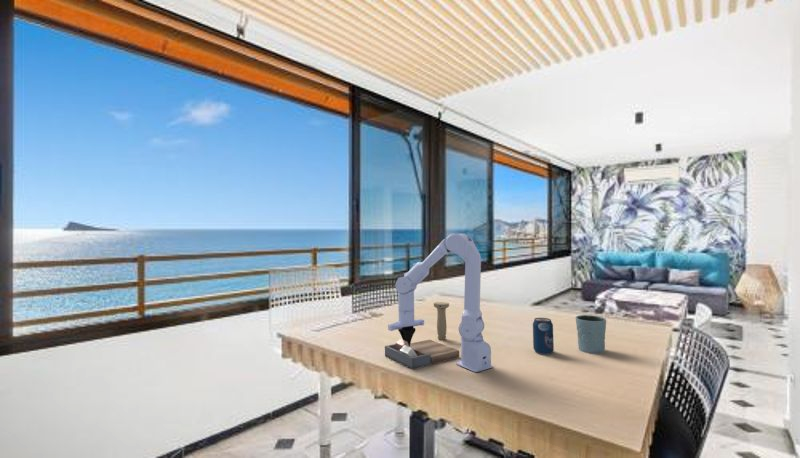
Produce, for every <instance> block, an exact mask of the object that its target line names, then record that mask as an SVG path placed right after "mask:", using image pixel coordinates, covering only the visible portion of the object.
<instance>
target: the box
mask: <svg viewBox="0 0 800 458" xmlns="http://www.w3.org/2000/svg"><path fill="white" fill-rule="evenodd" d="M384 356H385V357H387V358H389V359H390V360H393V361H395V363H399V364H400V365H402V366H404V367H406V368H407V369H410V370H415V369H421V368H423V367H427V366H431V365H432V366H433V364H432V363H431V356H430V354H425V355H421V356H417V357H410V356H408V355H406V354H404V353H402V352H399V351H398V349H397V346H396V344H395V343H393V344H388V345H385V346H384Z"/></svg>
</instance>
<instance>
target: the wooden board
mask: <svg viewBox="0 0 800 458" xmlns="http://www.w3.org/2000/svg"><path fill="white" fill-rule="evenodd" d="M410 347H411V348H412V349H413V350H414V352H415V353H416V355H417V356H421V355H425V354H430V356H431V363H432V365H435V364H439V363H443V362H447V361H451V360H454V359H459V358H460V349H457V348H454V347H451V346H449V345H446V344H444V343H440V342H437V341H434V340H432V339H426V340H422V341H417V342H411V343H410Z"/></svg>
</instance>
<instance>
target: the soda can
mask: <svg viewBox="0 0 800 458" xmlns="http://www.w3.org/2000/svg"><path fill="white" fill-rule="evenodd" d="M532 322H533V323H532V338H533V339H532V343H533V344H532V345H533V347H532V348H533V350H534V351H535V353H537V354H539V355H545V356H546V355H547V356H548V355H552V354H553V352H554V349H555V348H554V346H555V345H554V325H553V322H552V319H550V318H548V317H547V318H546V317H536V318H535V317H534V321H532Z"/></svg>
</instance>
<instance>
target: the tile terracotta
mask: <svg viewBox="0 0 800 458" xmlns="http://www.w3.org/2000/svg"><path fill="white" fill-rule="evenodd" d="M394 344H396V346H397V349H398V351H399V352H400V349H401V348H402V347H403V346H404V345H406V346H408V347H409V345H408V342H407V341H404V340H403V339H402V338H399V339H398V340H397V341H395V343H394Z"/></svg>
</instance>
